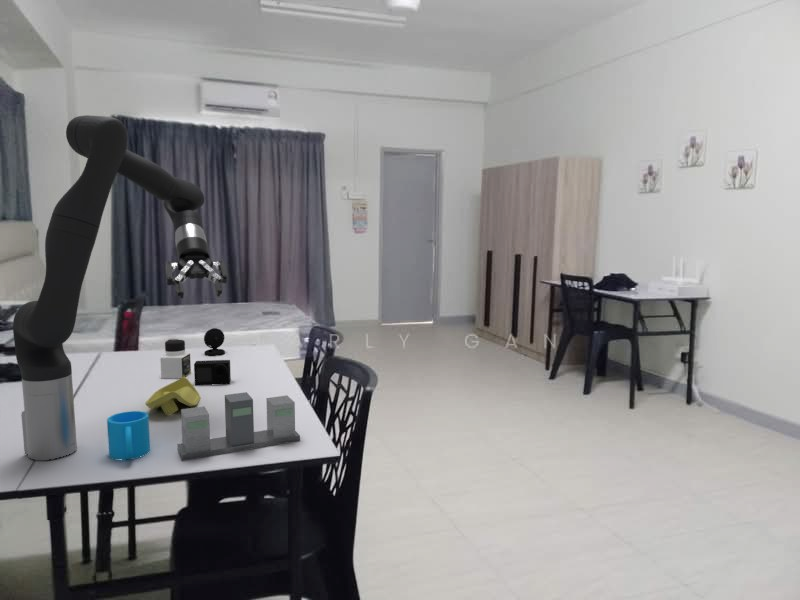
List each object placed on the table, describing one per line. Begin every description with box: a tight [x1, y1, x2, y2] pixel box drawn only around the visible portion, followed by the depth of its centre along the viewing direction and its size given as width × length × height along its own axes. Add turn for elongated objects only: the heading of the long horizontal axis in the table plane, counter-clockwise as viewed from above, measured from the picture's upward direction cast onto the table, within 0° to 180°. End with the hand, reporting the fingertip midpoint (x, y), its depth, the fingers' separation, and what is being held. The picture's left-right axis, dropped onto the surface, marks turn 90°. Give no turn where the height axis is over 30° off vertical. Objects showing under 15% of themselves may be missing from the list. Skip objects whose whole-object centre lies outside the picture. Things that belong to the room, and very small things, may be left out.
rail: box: [177, 395, 301, 461], centre depth 132 cm, size 26×7×9 cm, turn 117°
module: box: [224, 391, 255, 446], centre depth 132 cm, size 5×6×10 cm
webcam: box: [203, 327, 226, 357], centre depth 222 cm, size 8×8×10 cm
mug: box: [106, 410, 151, 461], centre depth 125 cm, size 12×8×8 cm
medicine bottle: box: [159, 338, 192, 379], centre depth 190 cm, size 7×7×12 cm
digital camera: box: [193, 359, 232, 386], centre depth 182 cm, size 10×5×7 cm, turn 100°
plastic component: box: [144, 377, 201, 416], centre depth 158 cm, size 20×7×10 cm
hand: (200, 295), depth 140 cm, fingers open, 8 cm apart
